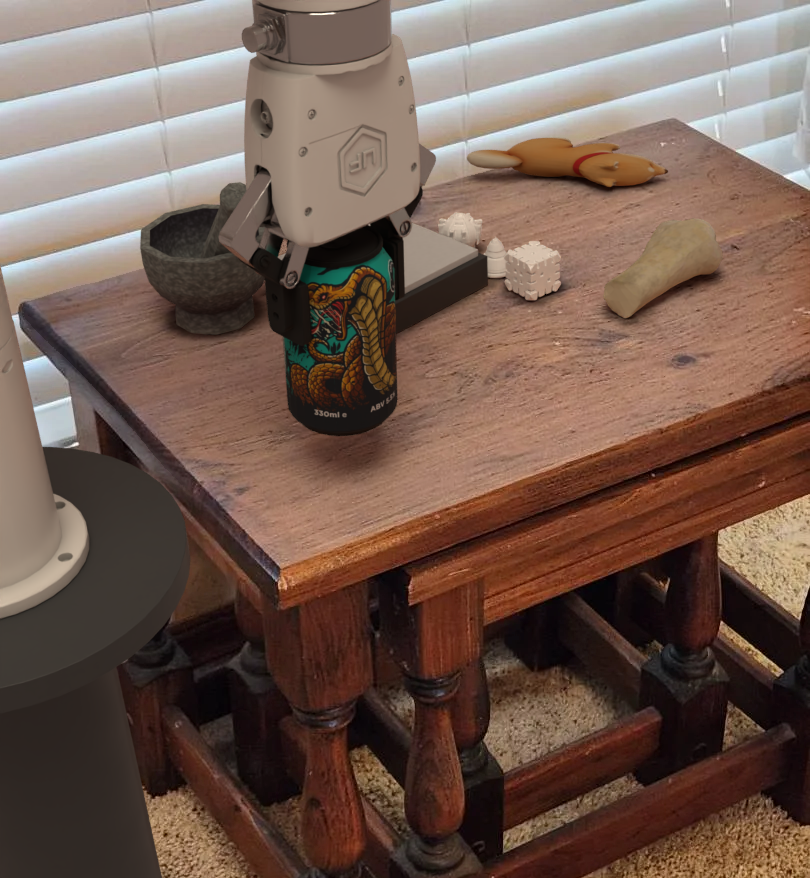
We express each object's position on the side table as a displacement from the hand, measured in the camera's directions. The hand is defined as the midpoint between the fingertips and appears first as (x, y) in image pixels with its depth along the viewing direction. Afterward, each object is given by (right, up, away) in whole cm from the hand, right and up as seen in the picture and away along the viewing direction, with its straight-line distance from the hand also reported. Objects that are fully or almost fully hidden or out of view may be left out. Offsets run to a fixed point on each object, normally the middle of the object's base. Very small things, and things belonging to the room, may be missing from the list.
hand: (338, 312), depth 95 cm
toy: (+18, +20, +40) cm, 49 cm away
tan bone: (+23, +5, +24) cm, 34 cm away
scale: (+2, +5, +25) cm, 26 cm away
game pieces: (+11, +7, +27) cm, 30 cm away
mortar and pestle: (-10, +3, +23) cm, 25 cm away
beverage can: (0, -6, +4) cm, 7 cm away
